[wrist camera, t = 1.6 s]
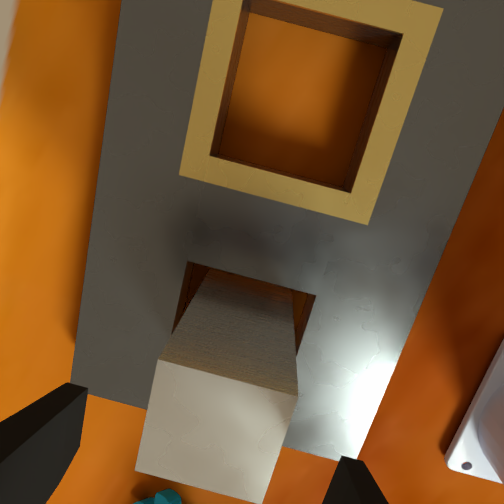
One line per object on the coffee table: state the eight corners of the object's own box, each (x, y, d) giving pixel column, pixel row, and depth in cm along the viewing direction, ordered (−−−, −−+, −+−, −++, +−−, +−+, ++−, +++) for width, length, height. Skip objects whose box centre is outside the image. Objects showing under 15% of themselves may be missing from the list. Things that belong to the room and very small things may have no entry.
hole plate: (515, 14, 14) (554, -8, 12) (347, 434, 20) (354, 467, 18) (156, -81, 14) (135, -118, 12) (89, 365, 20) (67, 390, 18)
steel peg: (291, 289, 18) (298, 397, 11) (269, 360, 19) (261, 504, 12) (210, 267, 18) (157, 359, 11) (193, 340, 19) (134, 470, 12)
